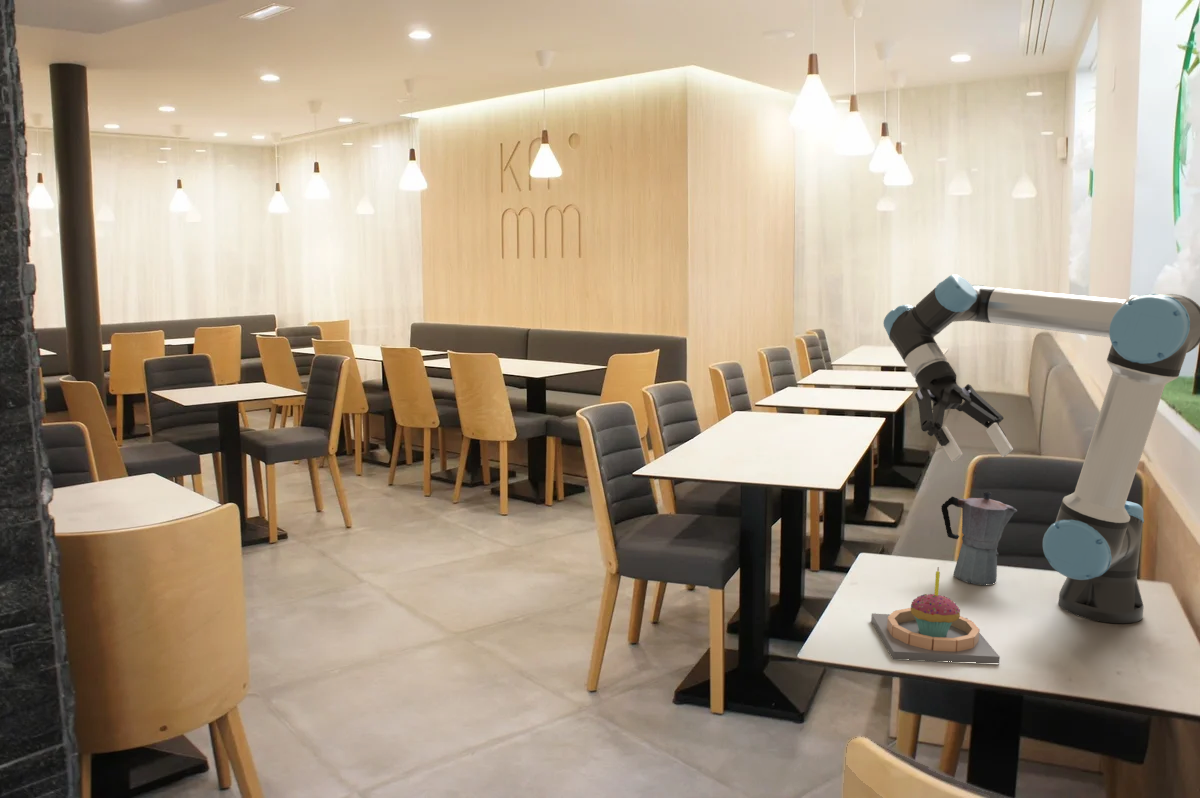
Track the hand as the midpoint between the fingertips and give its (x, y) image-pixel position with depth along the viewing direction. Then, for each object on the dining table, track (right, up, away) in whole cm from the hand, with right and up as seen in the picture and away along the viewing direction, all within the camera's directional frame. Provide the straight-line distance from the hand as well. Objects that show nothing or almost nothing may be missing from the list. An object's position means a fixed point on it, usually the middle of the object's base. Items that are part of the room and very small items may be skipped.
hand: (983, 455), depth 184 cm
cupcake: (-14, -32, -11) cm, 37 cm away
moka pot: (+8, -29, +24) cm, 38 cm away
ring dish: (-14, -33, -11) cm, 38 cm away
